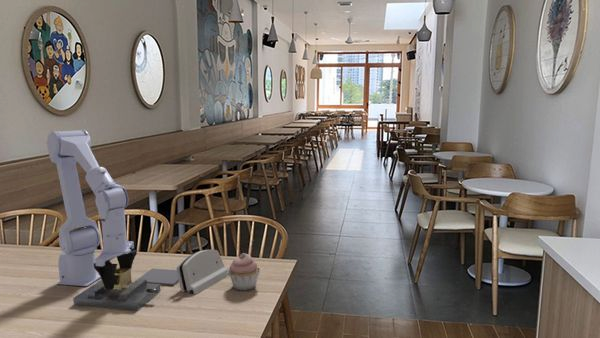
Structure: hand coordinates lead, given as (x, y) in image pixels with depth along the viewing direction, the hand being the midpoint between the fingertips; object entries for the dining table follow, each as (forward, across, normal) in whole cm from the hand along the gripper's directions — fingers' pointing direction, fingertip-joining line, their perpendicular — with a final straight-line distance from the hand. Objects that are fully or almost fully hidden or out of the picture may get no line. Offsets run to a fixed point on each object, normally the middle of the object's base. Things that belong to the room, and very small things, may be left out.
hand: (117, 282), depth 121 cm
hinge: (+5, +14, -18) cm, 23 cm away
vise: (+4, 0, -1) cm, 4 cm away
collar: (+1, 0, 0) cm, 1 cm away
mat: (+4, +15, -5) cm, 16 cm away
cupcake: (+5, +13, -31) cm, 34 cm away
